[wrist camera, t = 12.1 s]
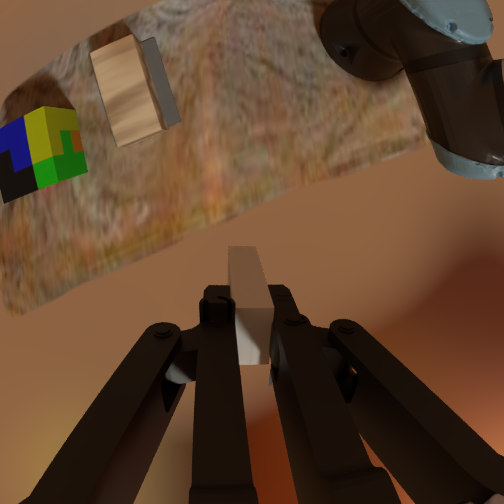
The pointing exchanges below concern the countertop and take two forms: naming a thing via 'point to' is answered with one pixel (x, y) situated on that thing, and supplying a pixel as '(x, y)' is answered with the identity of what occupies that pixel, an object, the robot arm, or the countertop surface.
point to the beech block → (128, 91)
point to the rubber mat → (157, 83)
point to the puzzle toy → (39, 151)
